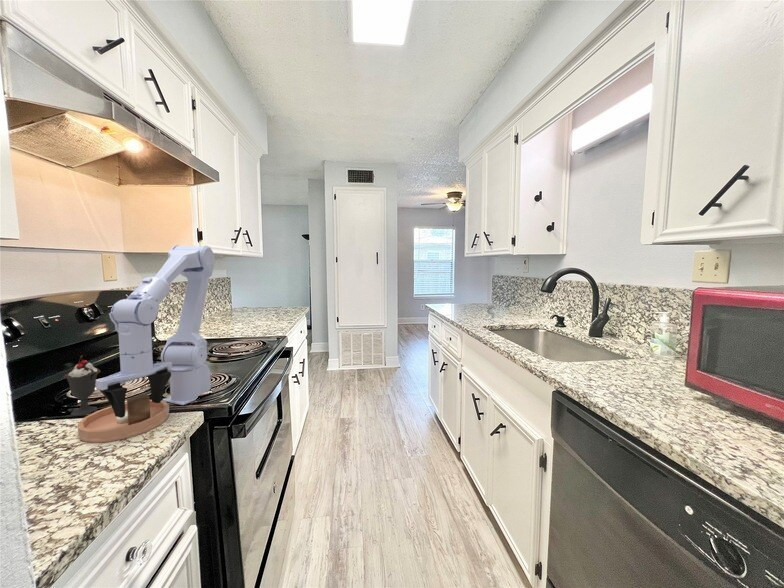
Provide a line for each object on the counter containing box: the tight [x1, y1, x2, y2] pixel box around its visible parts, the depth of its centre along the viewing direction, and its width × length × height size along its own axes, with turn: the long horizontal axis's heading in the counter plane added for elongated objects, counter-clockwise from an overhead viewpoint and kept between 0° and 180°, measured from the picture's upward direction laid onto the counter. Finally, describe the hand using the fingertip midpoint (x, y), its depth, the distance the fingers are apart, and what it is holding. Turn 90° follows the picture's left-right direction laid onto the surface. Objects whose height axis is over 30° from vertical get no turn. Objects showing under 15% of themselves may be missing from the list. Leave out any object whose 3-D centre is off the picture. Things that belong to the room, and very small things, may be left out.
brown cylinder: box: [126, 394, 151, 425], centre depth 71 cm, size 4×4×6 cm
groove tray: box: [77, 399, 170, 444], centre depth 73 cm, size 16×16×2 cm
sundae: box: [63, 355, 101, 417], centre depth 78 cm, size 7×7×15 cm
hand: (139, 408), depth 71 cm, fingers open, 7 cm apart
